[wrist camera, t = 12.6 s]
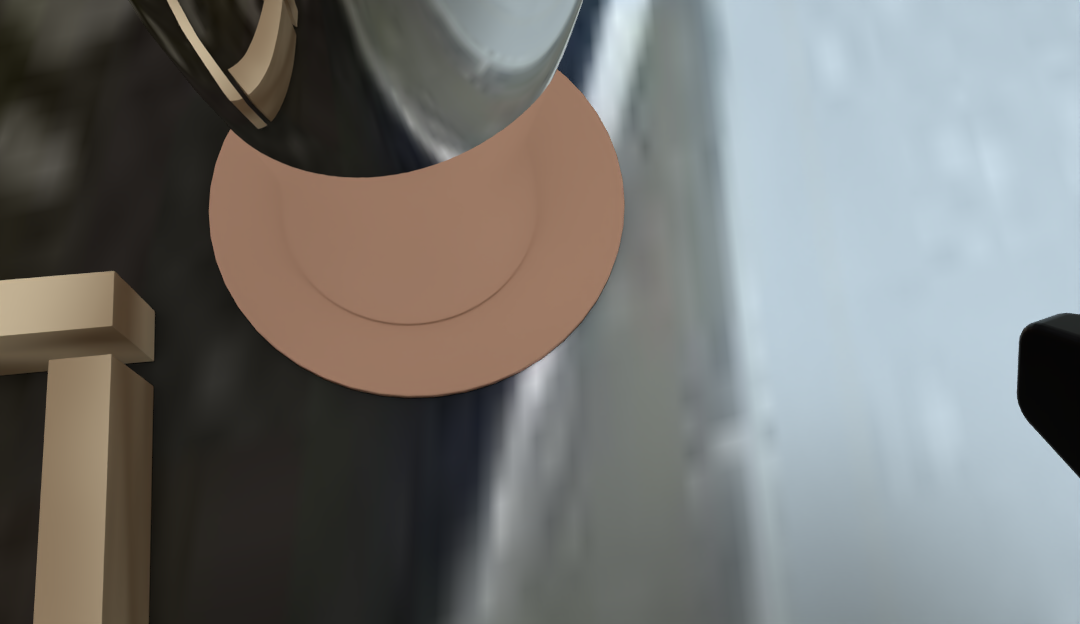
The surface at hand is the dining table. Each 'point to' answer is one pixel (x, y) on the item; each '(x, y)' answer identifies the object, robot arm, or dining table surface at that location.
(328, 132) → the beer glass
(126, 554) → the pocket frame
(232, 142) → the mat
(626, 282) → the dining table surface
